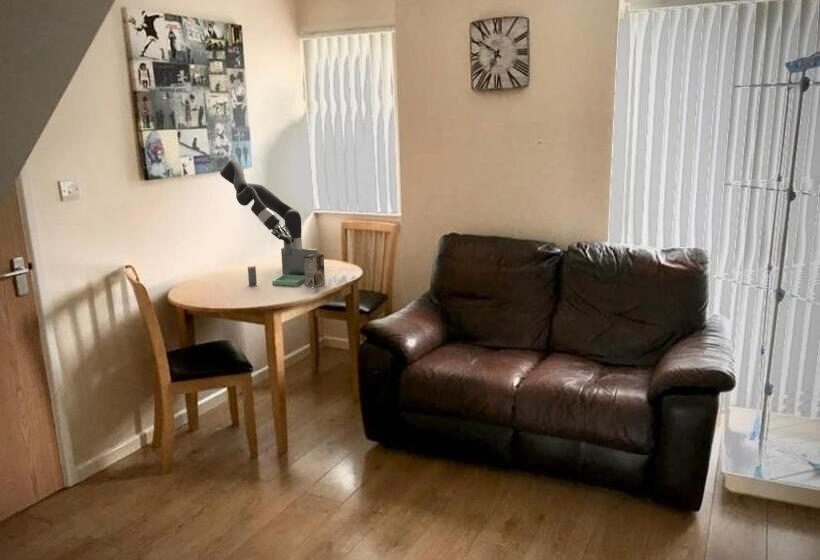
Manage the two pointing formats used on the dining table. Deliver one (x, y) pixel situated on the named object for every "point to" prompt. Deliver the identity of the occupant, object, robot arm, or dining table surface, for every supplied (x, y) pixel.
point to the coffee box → (314, 270)
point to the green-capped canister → (288, 247)
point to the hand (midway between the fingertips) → (291, 242)
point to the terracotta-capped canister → (252, 275)
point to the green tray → (289, 280)
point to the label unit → (295, 261)
